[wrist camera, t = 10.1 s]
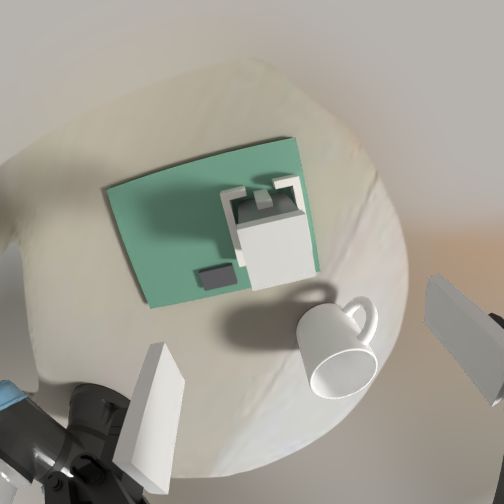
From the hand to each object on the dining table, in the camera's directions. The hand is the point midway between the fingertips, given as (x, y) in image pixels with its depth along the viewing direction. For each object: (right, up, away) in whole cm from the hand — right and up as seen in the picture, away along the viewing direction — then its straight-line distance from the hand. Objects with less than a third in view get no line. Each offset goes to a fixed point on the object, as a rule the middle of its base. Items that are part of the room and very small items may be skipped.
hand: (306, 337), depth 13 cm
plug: (-1, +8, +20) cm, 21 cm away
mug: (+9, -5, +27) cm, 28 cm away
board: (-7, +7, +21) cm, 23 cm away
